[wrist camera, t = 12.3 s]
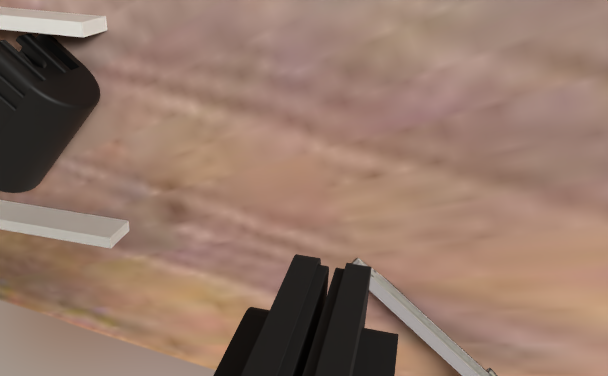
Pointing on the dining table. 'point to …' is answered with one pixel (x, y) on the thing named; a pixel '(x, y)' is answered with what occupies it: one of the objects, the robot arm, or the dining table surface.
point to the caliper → (424, 326)
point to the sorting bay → (45, 218)
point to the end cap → (39, 107)
